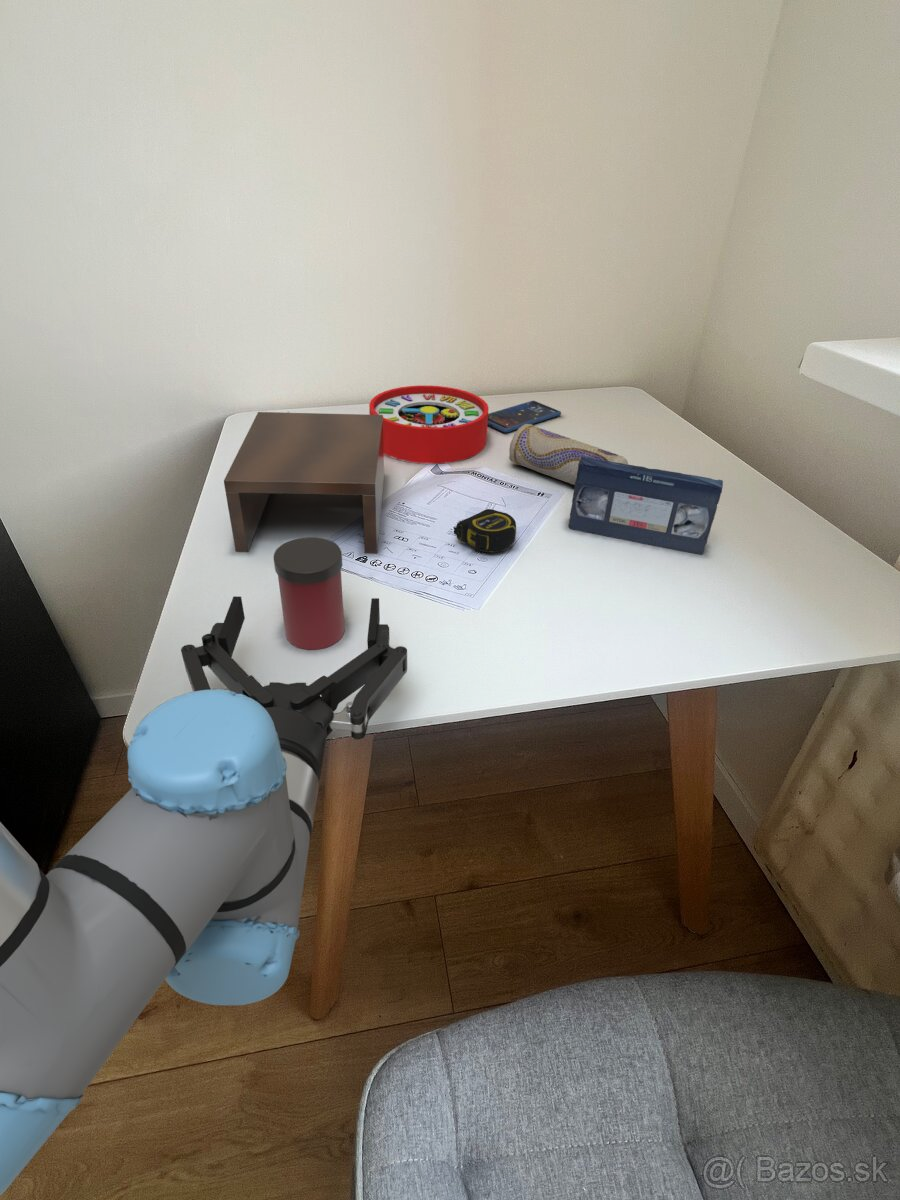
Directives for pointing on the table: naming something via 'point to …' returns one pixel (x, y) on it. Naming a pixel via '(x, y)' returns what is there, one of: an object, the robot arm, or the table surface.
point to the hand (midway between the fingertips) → (307, 607)
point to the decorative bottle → (554, 453)
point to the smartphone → (520, 416)
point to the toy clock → (431, 423)
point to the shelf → (306, 466)
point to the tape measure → (487, 531)
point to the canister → (311, 591)
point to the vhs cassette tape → (644, 504)
